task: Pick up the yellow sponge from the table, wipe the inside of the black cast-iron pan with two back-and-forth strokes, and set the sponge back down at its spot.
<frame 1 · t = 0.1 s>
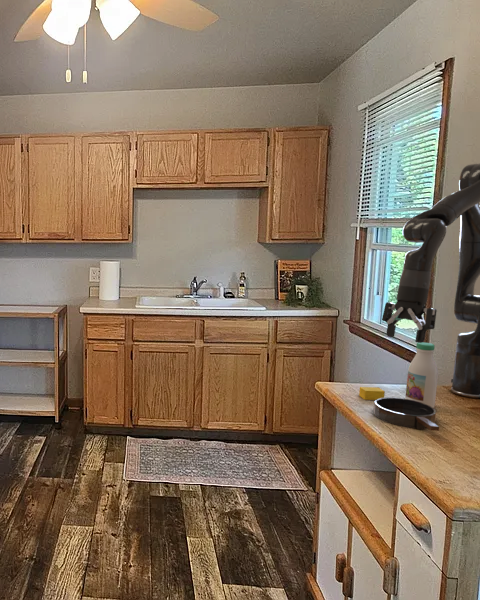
hand: (404, 339, 149), 22 cm above the countertop, tool pointing down, fingers open, 8 cm apart
pan: (403, 417, 146), on the countertop
sponge: (371, 397, 163), on the countertop
milk bottle: (419, 406, 156), on the countertop
pan handle: (426, 433, 135), on the countertop
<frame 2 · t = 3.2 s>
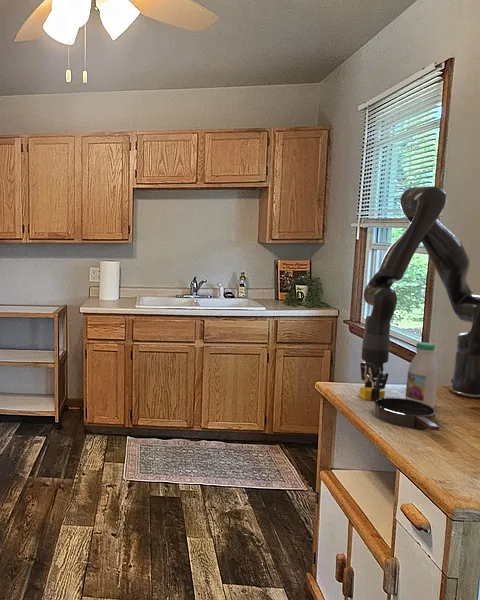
hand: (371, 397, 163), 0 cm above the countertop, tool pointing down, fingers closed on sponge, 4 cm apart
sponge: (371, 397, 163), on the countertop, touching gripper
everything else where it was.
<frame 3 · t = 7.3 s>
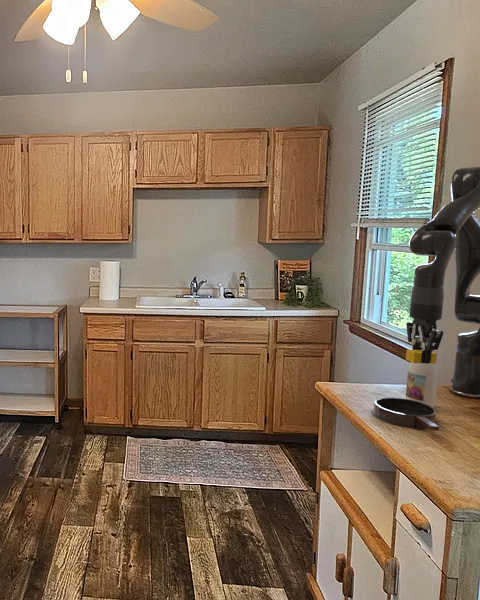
hand: (420, 360, 142), 18 cm above the countertop, tool pointing down, fingers closed on sponge, 4 cm apart
sponge: (420, 361, 142), point 17 cm above the countertop, touching gripper
everything else where it was.
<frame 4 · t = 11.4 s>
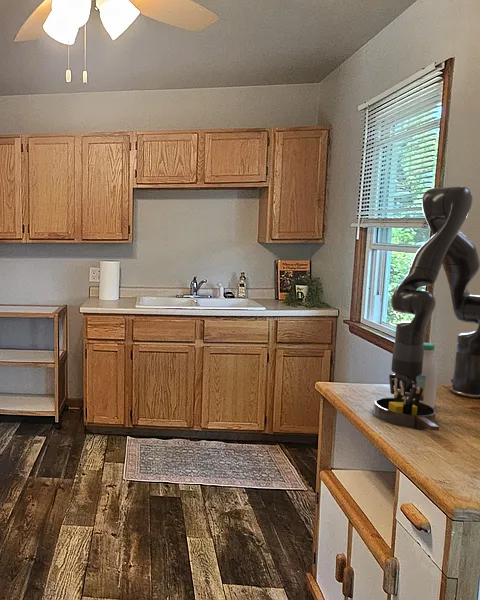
hand: (402, 413, 148), 1 cm above the countertop, tool pointing down, fingers closed on sponge, 4 cm apart
sponge: (402, 413, 148), point 1 cm above the countertop, touching gripper
everything else where it was.
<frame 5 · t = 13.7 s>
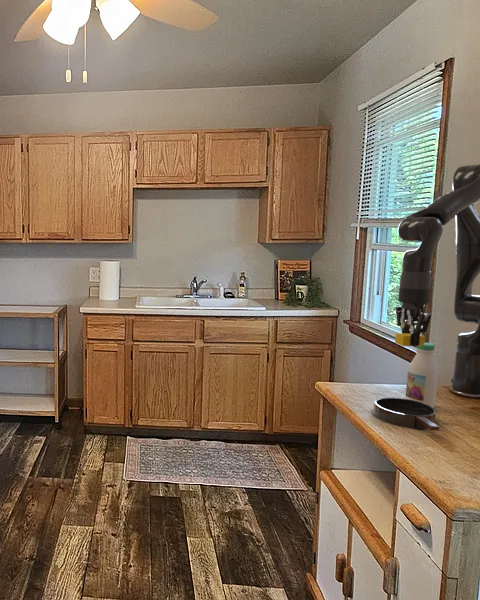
hand: (409, 343, 147), 21 cm above the countertop, tool pointing down, fingers closed on sponge, 4 cm apart
sponge: (409, 344, 147), point 21 cm above the countertop, touching gripper
everything else where it was.
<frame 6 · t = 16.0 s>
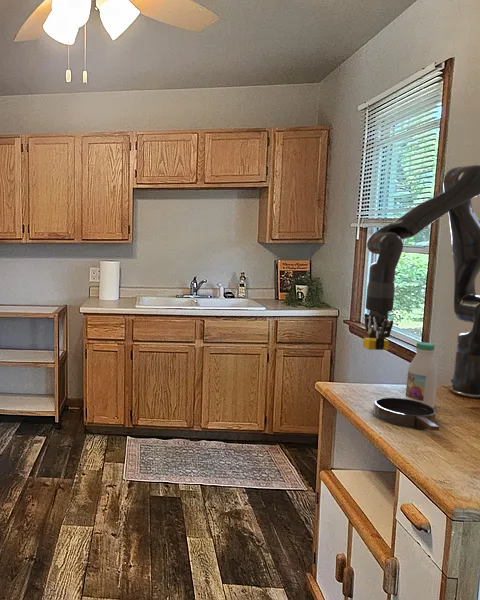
hand: (375, 347, 161), 17 cm above the countertop, tool pointing down, fingers closed on sponge, 4 cm apart
sponge: (375, 348, 161), point 17 cm above the countertop, touching gripper
everything else where it was.
when the fingers open (0 cm above the countertop, at t = 20.0 s): sponge stays where it is, on the countertop.
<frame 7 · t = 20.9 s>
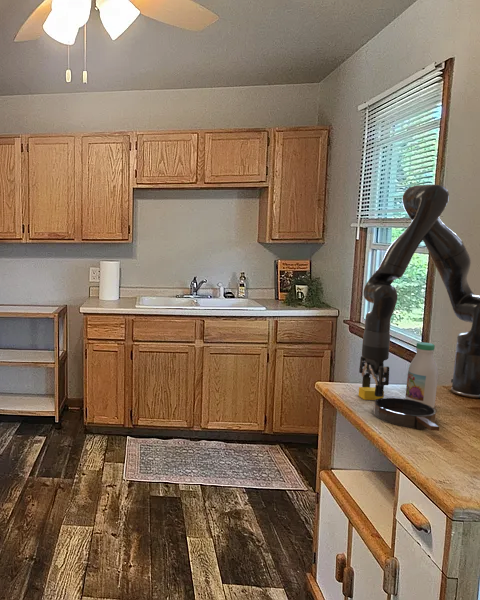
hand: (372, 391, 163), 2 cm above the countertop, tool pointing down, fingers open, 8 cm apart
sponge: (370, 397, 163), on the countertop
everything else where it was.
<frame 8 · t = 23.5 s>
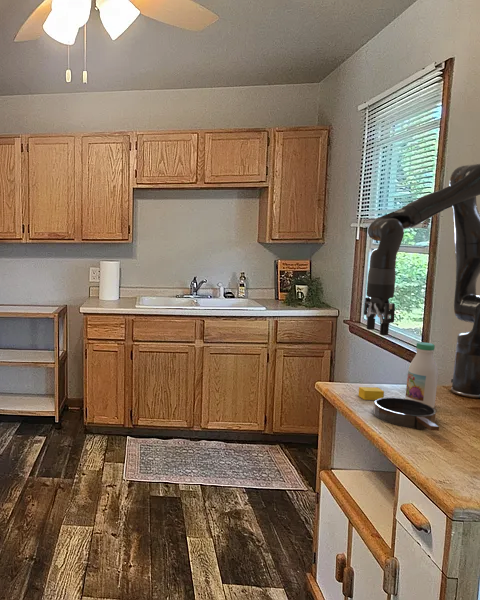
hand: (376, 332, 160), 22 cm above the countertop, tool pointing down, fingers open, 8 cm apart
nothing on the countertop moved.
at the end: sponge inside the target area (0.3 cm from its centre), on the countertop; sponge tilted 0°; the gripper is holding nothing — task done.
